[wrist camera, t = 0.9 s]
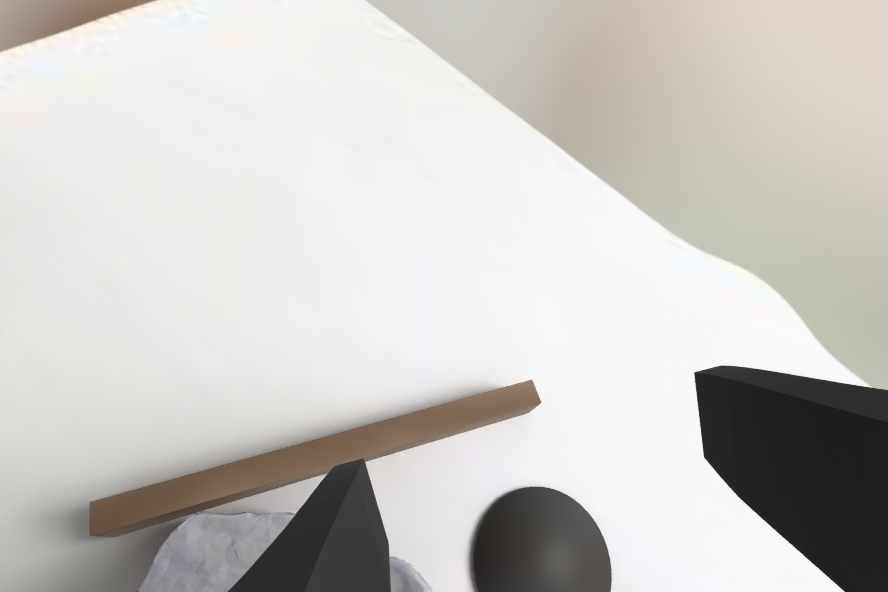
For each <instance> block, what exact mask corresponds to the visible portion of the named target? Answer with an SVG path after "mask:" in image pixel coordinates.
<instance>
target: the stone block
mask: <svg viewBox="0 0 888 592" xmlns="http://www.w3.org/2000/svg"><path fill="white" fill-rule="evenodd" d="M295 515H296V514H293V513H264V514H260V515H257V514H254V513H249V512H243V513H239V514H231V515H227V514H219V513H209V512H204V511H202V512H201V513H196V514H194V515H193V516H191V517H189V518H188V519H187V520H185V521H184V522H183V523H182V524H180V525H179V526H178V527H177V528H176V529H175V530H173V531H172V532H171V533H170V535H169V536H168V537H167V539H166V540H165V541H164V543H163V544H162V545H161V546H160V548H159V550H158V552H157V554H156V556H155V558H154V560H153V562H152V564H151V566H150V568H149V570H148V572H147V575H146V577H145V579H144V580H143V581H142V583H141V585H140V587H139V589H138V591H137V592H228V591H229V590H230V589H231V588H232V587H233V586H234V585H235V584H236V582H237V581H238V580H239V579H240V578H241V577H242V576H243V575H244V574H245V573H246V572H247V571H248V570H249V568H250V567H251V566H252V565H253V564H254V563H255V562H256V560H257V559H258V558H259V557H260V556H261V555H262V554H263V552H264V551H265V550H266V549H267V548H268V547H269V546H270V544H271V543H272V542H273V541H274V540H275V539H276V538H277V536H278V535H279V534H280V533H281V532H282V531H283V529H284V528H285V527H286V526H287V525H288V523H289V522H290V521H291V520H292V518H293V517H294V516H295ZM389 561H390V581H391V592H433V590H432V588H431V587H430V586H429V585H428V584H427V582H426V581H425V580H424V579H423V577H422V576H421V575H420V574H419V573H418V572H417V571H416V570H415V569H414V568H413V566H412V565H411V564H409V563H407V562H405V561H403V560H401V559H398V558H395V557H389Z"/></svg>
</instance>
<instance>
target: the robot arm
mask: <svg viewBox="0 0 888 592" xmlns="http://www.w3.org/2000/svg"><path fill="white" fill-rule="evenodd" d="M694 374H695V383H696V392H697V400H698V409H699V417H700V426H701V435H702V443H703V452H704V458H705V459H706V460H707V461H708V462H709V464H710V465H711V466H712V467H713V468H714V470H715V471H716V472H717V473H718V474H719V476H720V477H721V478H722V479H723V480H724V481H725V482H726V484H727V485H728V486H729V487H730V488H731V489H732V490H733V491H734V492H735V493H736V495H737V496H738V497H739V498H740V499H741V500H743V501H744V502H745V503H746V504H747V505H748V506H749V507H750V508H751V509H752V510H753V511H755V512H756V513H757V514H758V515H759V516H760V517H761V518H762V519H763V520H765V521H766V522H767V523H768V524H769V525H770V526H771V527H772V528H773V529H775V530H776V531H777V532H778V533H779V534H780V535H781V536H783V537H784V538H785V539H786V540H787V541H788V542H789V543H790V544H792V545H793V546H794V547H795V548H796V549H797V550H798V551H799V552H801V553H802V554H803V555H804V556H805V557H806V558H807V559H809V560H810V561H811V562H812V563H813V564H814V565H815V566H816V567H818V568H819V569H820V570H821V571H822V572H823V573H824V574H825V575H827V576H828V577H829V578H830V579H831V580H832V581H833V582H835V583H836V584H837V585H838V586H839V587H840V588H841V589H842V590H844V591H845V592H888V390H883V389H876V388H869V387H863V386H857V385H850V384H844V383H838V382H832V381H826V380H820V379H814V378H808V377H802V376H797V375H791V374H785V373H779V372H773V371H767V370H760V369H753V368H746V367H737V366H718V367H714V368H710V369H706V370H702V371H698V372H695V373H694ZM228 592H391V581H390V561H389V544H388V539H387V536H386V532H385V529H384V526H383V522H382V519H381V515H380V512H379V509H378V505H377V502H376V498H375V495H374V491H373V488H372V485H371V481H370V478H369V474H368V471H367V468H366V464H365V461H364V458H363V459H359V460H355V461H351V462H347V463H344V464H340V465H336V466H334V467H333V468H332V469H331V471H330V472H329V473H328V474H327V475H326V477H325V478H324V479H323V480H322V482H321V483H320V484H319V485H318V487H317V488H316V489H315V491H314V492H313V493H312V494H311V496H310V497H309V498H308V500H307V501H306V502H305V503H304V505H303V506H302V507H301V508H300V510H299V511H298V512H297V513H296V515H295V516H294V517H293V518H292V520H291V521H290V522H289V523H288V525H287V526H286V527H285V528H284V529H283V531H282V532H281V533H280V534H279V535H278V536H277V538H276V539H275V540H274V541H273V542H272V543H271V544H270V546H269V547H268V548H267V549H266V550H265V551H264V552H263V554H262V555H261V556H260V557H259V558H258V559H257V560H256V562H255V563H254V564H253V565H252V566H251V567H250V568H249V570H248V571H247V572H246V573H245V574H244V575H243V576H242V577H241V578H240V579H239V580H238V581H237V582H236V584H235V585H234V586H233V587H232V588H231V589H230V590H229V591H228Z"/></svg>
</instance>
